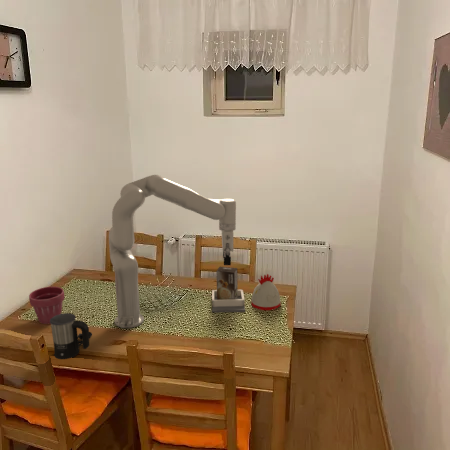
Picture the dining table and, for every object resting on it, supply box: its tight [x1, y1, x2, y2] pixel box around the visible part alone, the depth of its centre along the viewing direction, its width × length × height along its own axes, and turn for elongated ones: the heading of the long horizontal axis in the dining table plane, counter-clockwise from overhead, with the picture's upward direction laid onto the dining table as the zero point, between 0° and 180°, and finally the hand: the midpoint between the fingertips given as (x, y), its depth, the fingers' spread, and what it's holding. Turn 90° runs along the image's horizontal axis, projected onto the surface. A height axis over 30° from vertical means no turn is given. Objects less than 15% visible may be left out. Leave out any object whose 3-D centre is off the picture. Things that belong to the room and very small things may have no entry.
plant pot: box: [28, 286, 66, 325], centre depth 197 cm, size 14×14×13 cm
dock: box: [211, 289, 246, 314], centre depth 213 cm, size 20×15×4 cm
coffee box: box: [215, 266, 239, 300], centre depth 211 cm, size 9×6×16 cm
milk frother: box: [49, 312, 93, 360], centre depth 173 cm, size 14×16×15 cm
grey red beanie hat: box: [250, 273, 281, 311], centre depth 210 cm, size 14×14×15 cm
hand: (226, 261), depth 208 cm, fingers open, 9 cm apart
